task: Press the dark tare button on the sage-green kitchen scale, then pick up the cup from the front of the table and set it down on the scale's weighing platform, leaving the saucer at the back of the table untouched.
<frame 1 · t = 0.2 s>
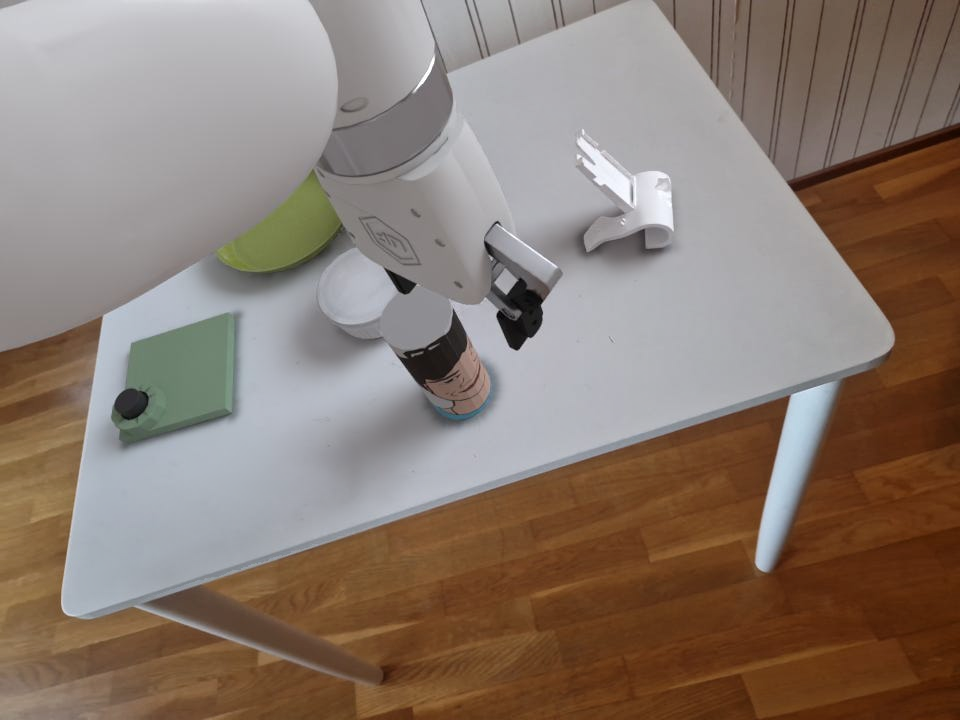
hand: (468, 304, 46), 25 cm above the table, tool pointing down, fingers open, 9 cm apart
cup: (462, 392, 72), on the table
tare button: (131, 403, 78), point 4 cm above the table, slide at 0.1 cm
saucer: (292, 224, 92), on the table
plastic part: (630, 225, 77), on the table
mug: (435, 191, 88), on the table
scale: (182, 378, 83), on the table
ramekin: (379, 308, 81), on the table
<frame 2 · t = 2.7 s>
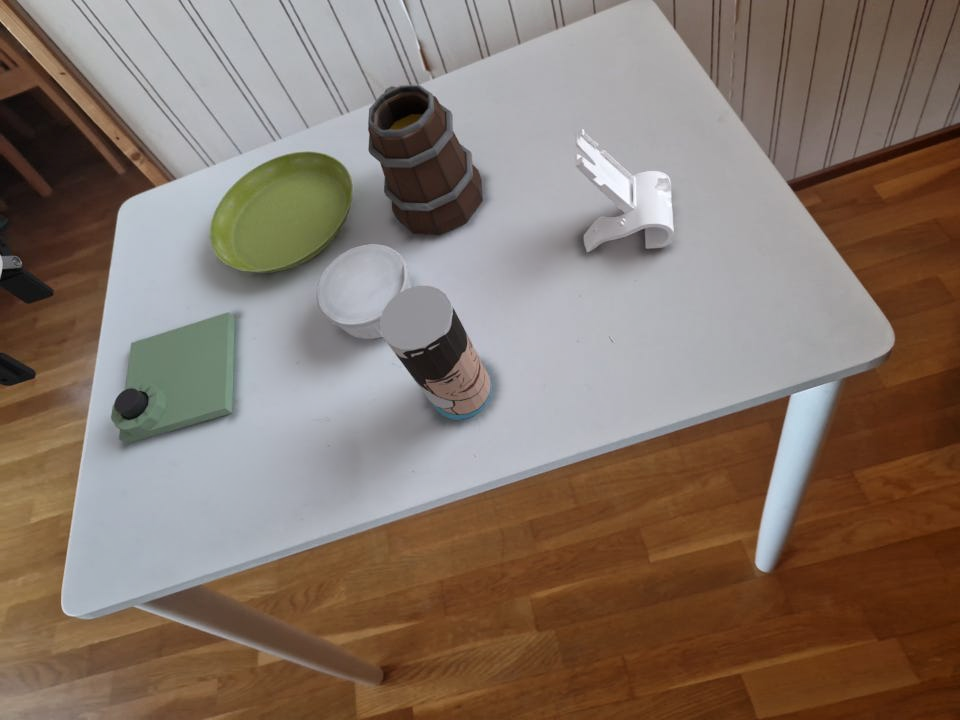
hand: (32, 337, 65), 19 cm above the table, tool pointing down, fingers open, 9 cm apart
nothing on the table moved.
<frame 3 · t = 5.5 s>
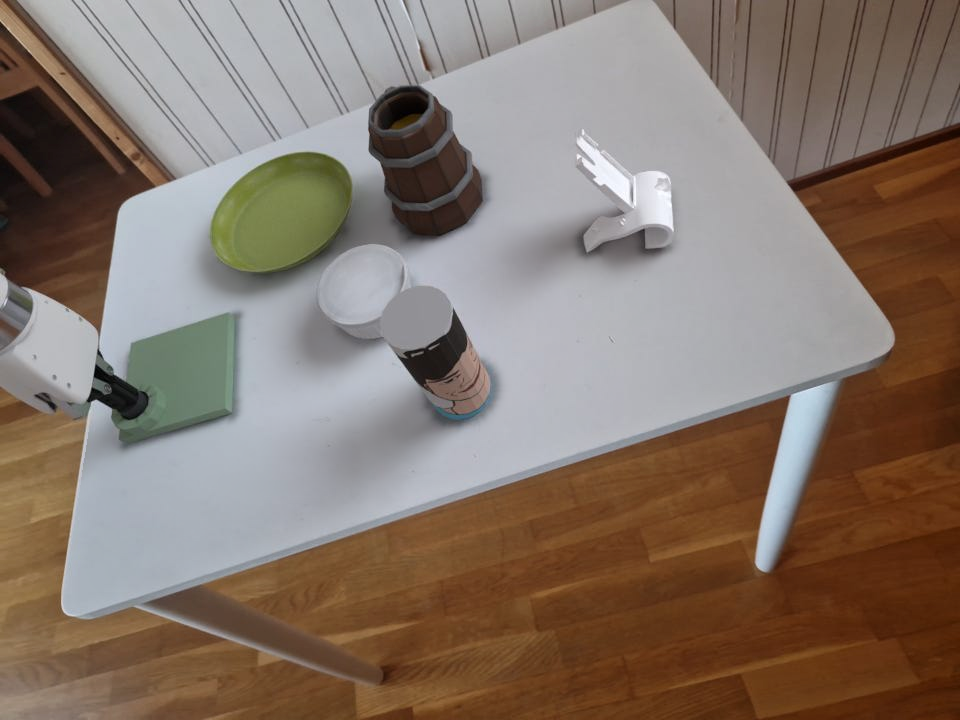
hand: (126, 400, 78), 4 cm above the table, tool pointing down, fingers closed
tare button: (132, 404, 79), point 3 cm above the table, slide at -0.1 cm, touching gripper
everything else where it was.
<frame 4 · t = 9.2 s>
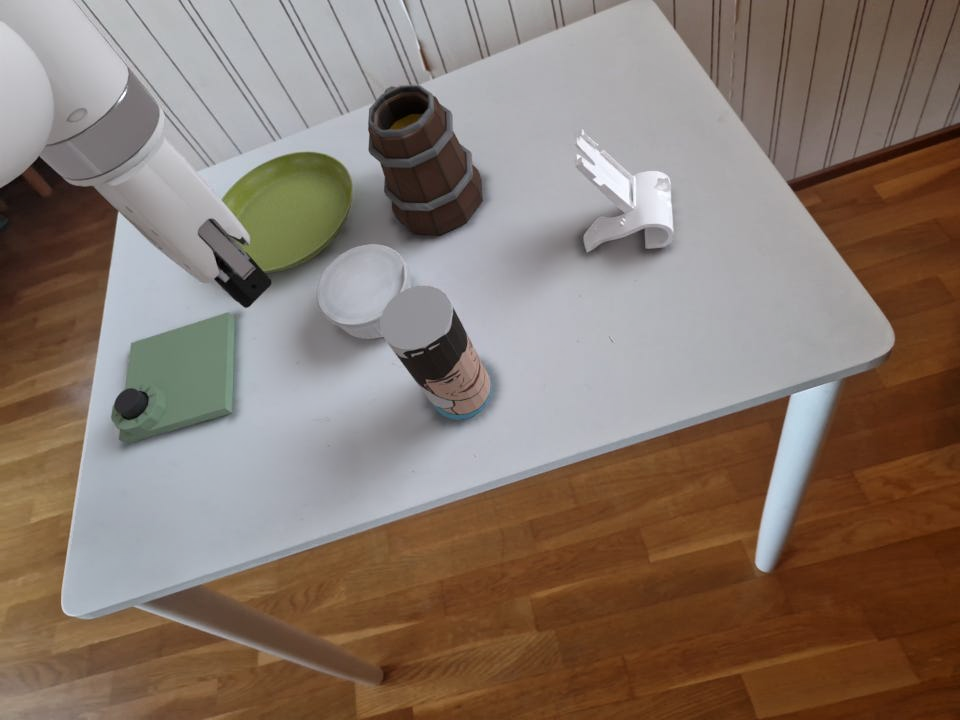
hand: (254, 291, 57), 21 cm above the table, tool pointing down, fingers closed
tare button: (131, 403, 78), point 4 cm above the table, slide at 0.1 cm
everything else where it was.
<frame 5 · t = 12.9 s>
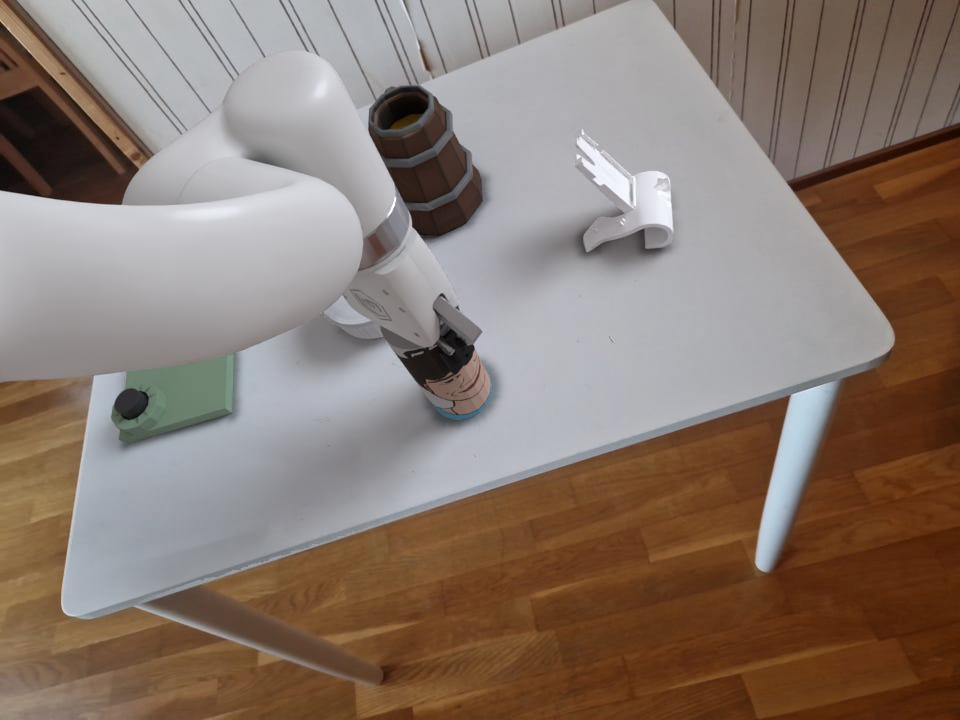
hand: (432, 344, 63), 10 cm above the table, tool pointing down, fingers closed on cup, 6 cm apart
cup: (462, 392, 72), on the table, touching gripper
everything else where it was.
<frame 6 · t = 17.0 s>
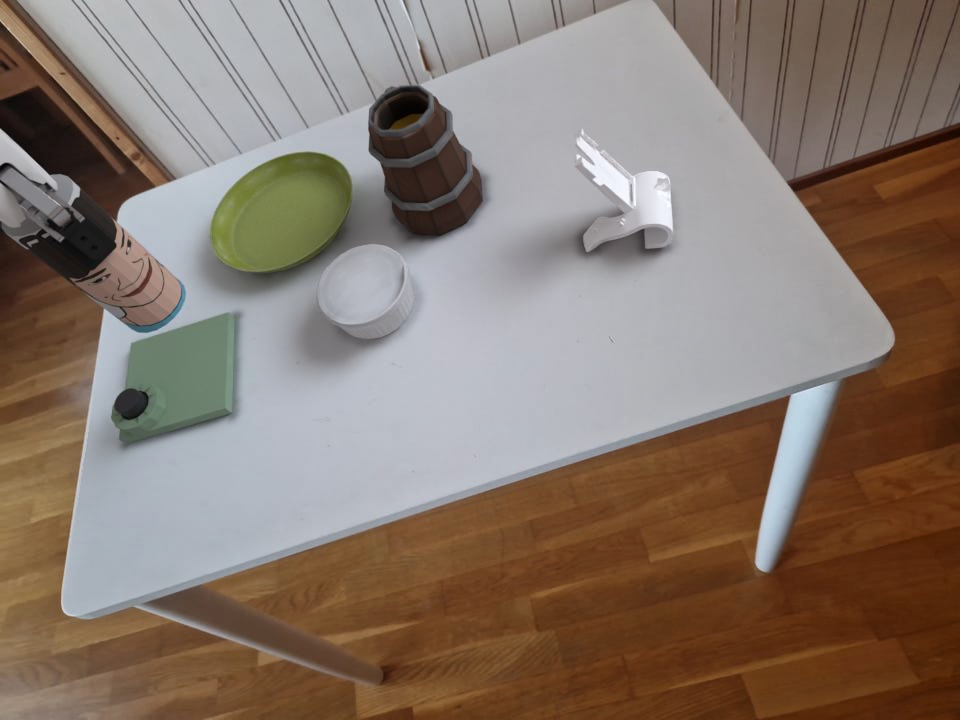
hand: (80, 242, 59), 26 cm above the table, tool pointing down, fingers closed on cup, 6 cm apart
cup: (157, 305, 68), point 15 cm above the table, touching gripper
everything else where it was.
when the fingers open (12 cm above the table, at t = 21.3 s): cup stays where it is, resting on scale.
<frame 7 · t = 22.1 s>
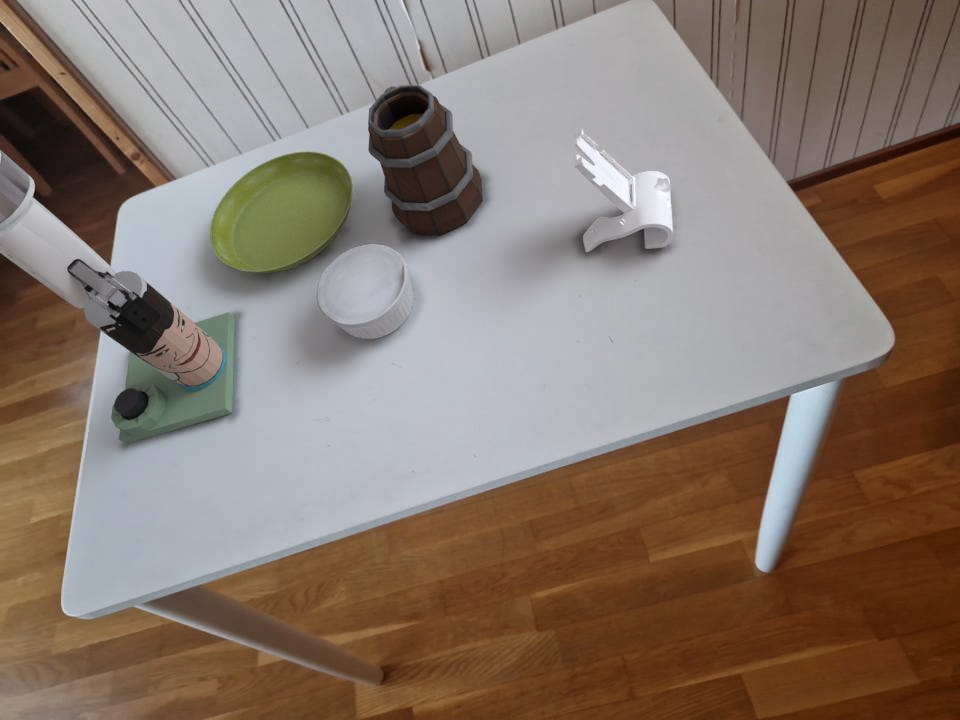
hand: (124, 308, 70), 15 cm above the table, tool pointing down, fingers open, 9 cm apart
cup: (202, 367, 81), point 1 cm above the table, touching scale
everything else where it was.
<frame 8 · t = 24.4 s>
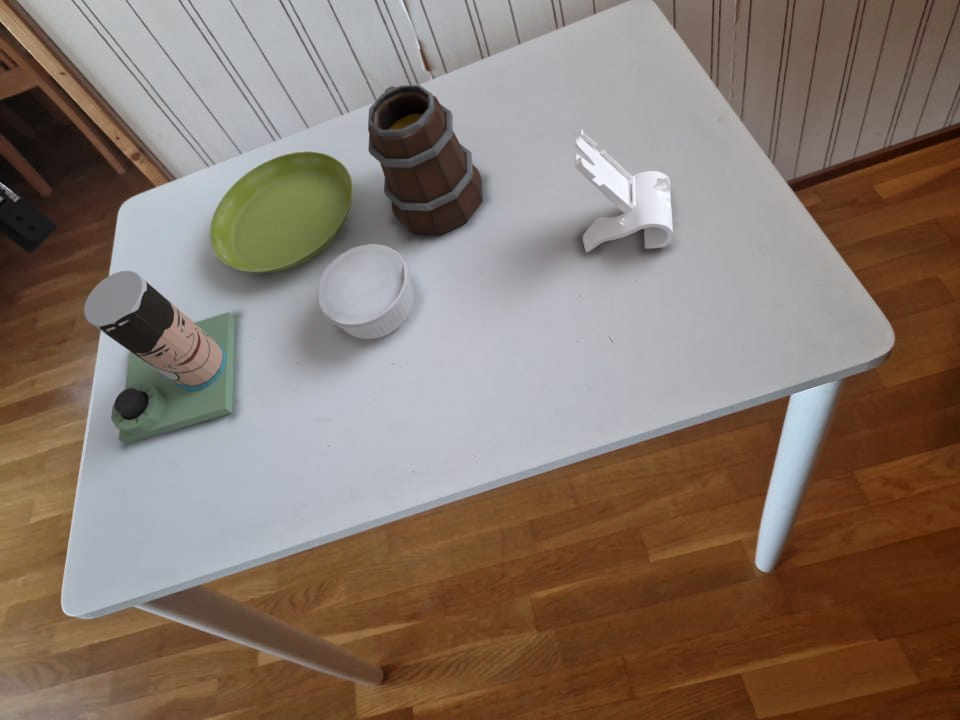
hand: (16, 221, 59), 28 cm above the table, tool pointing down, fingers open, 9 cm apart
nothing on the table moved.
at the end: tare button pushed in 0.9 cm at the most during the clip, back to where it started at the end; cup inside the target area on the scale (0.2 cm from its centre), point 1.2 cm above the scale's base; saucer moved 0.2 cm from its start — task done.
